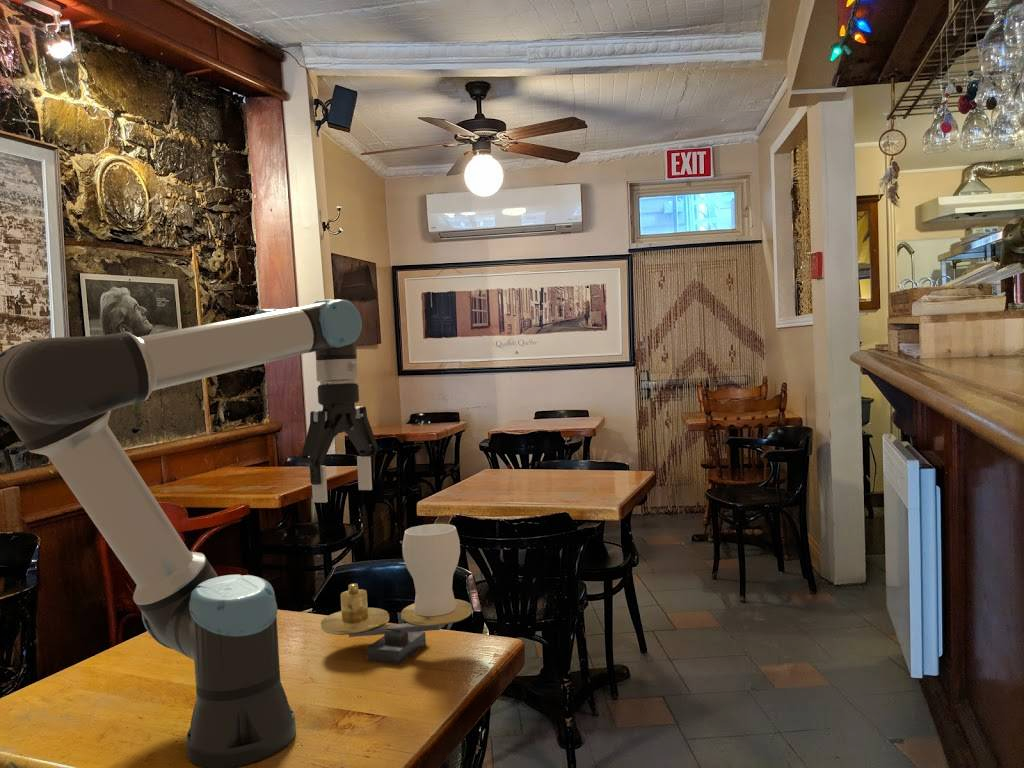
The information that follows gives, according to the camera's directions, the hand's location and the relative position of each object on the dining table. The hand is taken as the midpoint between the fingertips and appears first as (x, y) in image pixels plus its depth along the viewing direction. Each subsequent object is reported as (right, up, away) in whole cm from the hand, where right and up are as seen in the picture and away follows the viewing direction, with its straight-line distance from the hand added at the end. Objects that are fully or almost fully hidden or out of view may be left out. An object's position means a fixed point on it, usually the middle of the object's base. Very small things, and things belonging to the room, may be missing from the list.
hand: (343, 495), depth 138 cm
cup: (+17, -21, -2) cm, 27 cm away
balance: (+10, -30, +2) cm, 32 cm away
